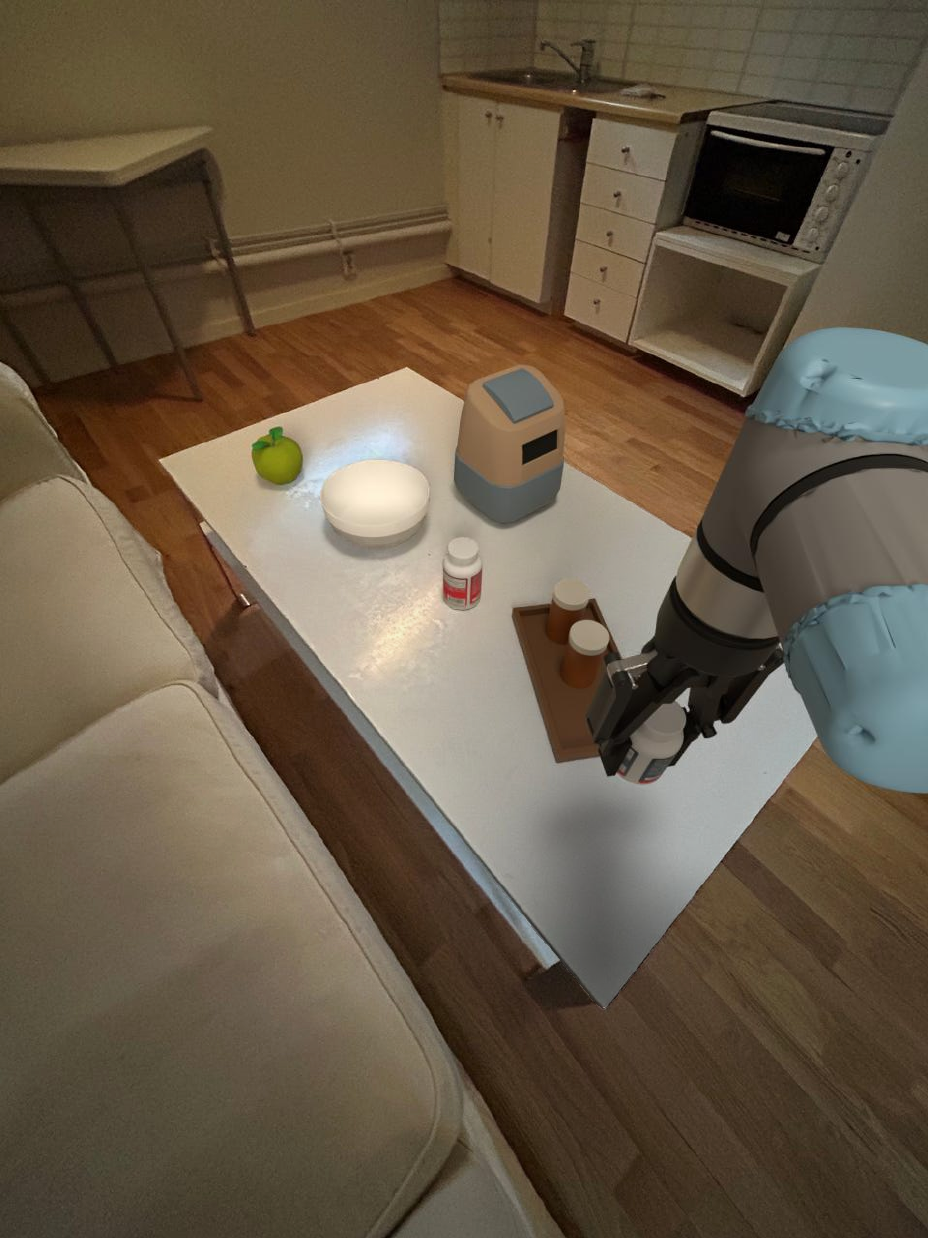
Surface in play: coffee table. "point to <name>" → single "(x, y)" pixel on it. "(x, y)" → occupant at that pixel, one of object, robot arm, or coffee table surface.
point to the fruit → (277, 457)
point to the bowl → (376, 502)
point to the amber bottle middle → (583, 653)
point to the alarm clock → (510, 443)
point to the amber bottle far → (566, 608)
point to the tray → (559, 682)
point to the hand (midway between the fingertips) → (636, 758)
